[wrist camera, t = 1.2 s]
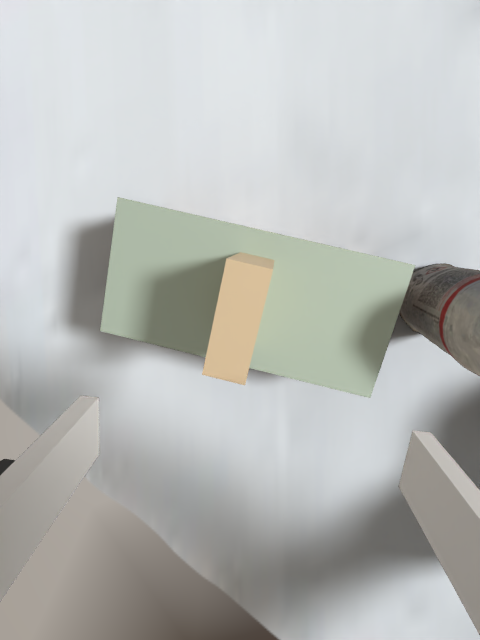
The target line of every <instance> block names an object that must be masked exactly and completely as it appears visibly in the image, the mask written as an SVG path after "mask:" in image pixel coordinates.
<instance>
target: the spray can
mask: <svg viewBox="0 0 480 640" xmlns="http://www.w3.org/2000/svg"><path fill="white" fill-rule="evenodd" d="M399 313H400V316H401V318H402V319H403V320H404V321H405V322H406V324H408V325H409V326H410V328H411V329H412V330H413V331H416V332H419V333H420V334H422V335H423V336H424V337H426V338H427V339H429V340H430V341H431V342H432V343H434V344H436V345H437V346H438V347H439V348H440V349H442V350H443V351H445V352H446V353H448V354H450V355H451V356H452V357H453V358H454V359H455V360H456V361H457V362H458V363H459V364H461V365H462V366H463V367H464V368H466V369H468V370H469V371H471V372H473V373H475V374H477V375H478V376H480V271H479V270H473V269H465V268H458V267H454V266H452V265H450V264H434V265H430V266H427V267H425V268H422V269H420V270H417V271H415V272H413V274H412V276H411V279H410V282H409V285H408V288H407V291H406V294H405V297H404V300H403V303H402V306H401V309H400V312H399Z"/></svg>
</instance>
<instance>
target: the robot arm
mask: <svg viewBox="0 0 480 640" xmlns="http://www.w3.org/2000/svg"><path fill="white" fill-rule="evenodd" d="M98 456H99V397H89V396H80V397H79V398H78V399H77V400H76V401H75V402H74V403H73V404H72V405H71V406H70V407H69V408H68V409H67V410H66V411H65V412H64V413H63V414H62V415H61V416H60V417H59V418H58V419H57V420H56V421H55V422H54V423H53V424H52V425H51V426H50V427H49V428H48V429H47V430H46V431H45V432H44V433H43V434H42V435H41V436H40V437H39V438H38V439H37V440H36V441H35V442H34V443H33V444H32V445H31V446H30V447H28V448H27V450H26V451H25V452H23V454H22V455H21V456H19V457H18V459H16V460H9V459H3V460H2V461H0V602H1V600H2V598H3V597H4V596H5V594H6V593H7V591H8V589H9V588H10V587H11V585H12V584H13V582H14V581H15V579H16V578H17V576H18V575H19V573H20V572H21V570H22V569H23V567H24V566H25V564H26V563H27V561H28V560H29V558H30V557H31V555H32V554H33V552H34V551H35V549H36V548H37V546H38V545H39V543H40V542H41V540H42V539H43V537H44V536H45V534H46V533H47V531H48V530H49V528H50V527H51V525H52V524H53V522H54V521H55V519H56V518H57V517H58V515H59V513H60V512H61V511H62V509H63V508H64V506H65V505H66V503H67V502H68V500H69V499H70V497H71V496H72V494H73V493H74V491H75V490H76V488H77V487H78V485H79V484H80V482H81V481H82V479H83V478H84V476H85V475H86V473H87V472H88V470H89V469H90V467H91V466H92V464H93V463H94V461H95V460H96V459H97V457H98ZM399 488H400V490H401V492H402V494H403V495H404V497H405V499H406V501H407V503H408V505H409V506H410V508H411V510H412V512H413V514H414V516H415V517H416V519H417V521H418V523H419V525H420V527H421V529H422V530H423V532H424V534H425V536H426V538H427V540H428V541H429V543H430V545H431V547H432V549H433V551H434V552H435V554H436V556H437V558H438V560H439V562H440V563H441V565H442V567H443V569H444V571H445V573H446V574H447V576H448V578H449V580H450V582H451V584H452V585H453V587H454V589H455V591H456V593H457V595H458V596H459V598H460V600H461V602H462V604H463V606H464V607H465V609H466V611H467V613H468V615H469V617H470V618H471V620H472V622H473V624H474V626H475V628H476V629H477V631H478V633H479V635H480V490H479V489H478V488H477V487H476V485H475V484H474V483H473V482H472V481H471V479H470V478H469V477H468V476H467V475H466V474H465V472H464V471H463V470H462V469H461V468H460V466H459V465H458V464H457V463H456V462H455V460H454V459H453V458H452V457H451V456H450V454H449V453H448V452H447V451H446V450H445V449H444V447H443V446H442V445H441V444H440V443H439V441H438V440H437V439H436V438H435V437H434V435H433V434H432V433H431V432H421V431H412V435H411V439H410V443H409V447H408V451H407V455H406V459H405V463H404V467H403V471H402V475H401V479H400V483H399Z"/></svg>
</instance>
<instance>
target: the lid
mask: <svg viewBox="0 0 480 640" xmlns="http://www.w3.org/2000/svg"><path fill="white" fill-rule="evenodd" d="M414 268H415V265H412V264H408V263H403V262H399V261H395V260H390V259H386V258H381V257H377V256H373V255H368V254H364V253H360V252H355V251H351V250H347V249H342V248H338V247H333V246H329V245H325V244H320V243H316V242H312V241H307V240H303V239H298V238H294V237H290V236H285V235H281V234H277V233H272V232H268V231H263V230H259V229H255V228H250V227H246V226H242V225H237V224H233V223H228V222H224V221H220V220H215V219H211V218H207V217H202V216H198V215H193V214H189V213H185V212H180V211H176V210H172V209H167V208H163V207H158V206H154V205H150V204H145V203H141V202H137V201H132V200H128V199H124V198H119V197H118V198H117V206H116V213H115V221H114V229H113V236H112V244H111V252H110V259H109V267H108V275H107V282H106V290H105V298H104V305H103V313H102V321H101V328H100V331H101V332H106V333H110V334H114V335H118V336H122V337H126V338H130V339H134V340H138V341H142V342H146V343H150V344H154V345H158V346H162V347H166V348H170V349H174V350H178V351H182V352H186V353H190V354H194V355H198V356H202V357H206V358H205V363H204V368H203V373H202V375H206V376H210V377H214V378H218V379H222V380H226V381H230V382H234V383H238V384H242V385H245V383H246V379H247V375H248V371H249V368H251V369H255V370H259V371H263V372H267V373H271V374H275V375H279V376H283V377H287V378H291V379H295V380H299V381H303V382H308V383H312V384H316V385H320V386H324V387H328V388H332V389H336V390H340V391H344V392H348V393H352V394H356V395H360V396H364V397H368V398H370V397H371V394H372V391H373V388H374V385H375V382H376V379H377V376H378V373H379V370H380V368H381V365H382V362H383V359H384V356H385V353H386V350H387V347H388V344H389V341H390V338H391V335H392V332H393V329H394V326H395V323H396V321H397V318H398V315H399V312H400V309H401V306H402V303H403V300H404V297H405V294H406V291H407V288H408V285H409V282H410V279H411V276H412V274H413V271H414Z"/></svg>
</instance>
